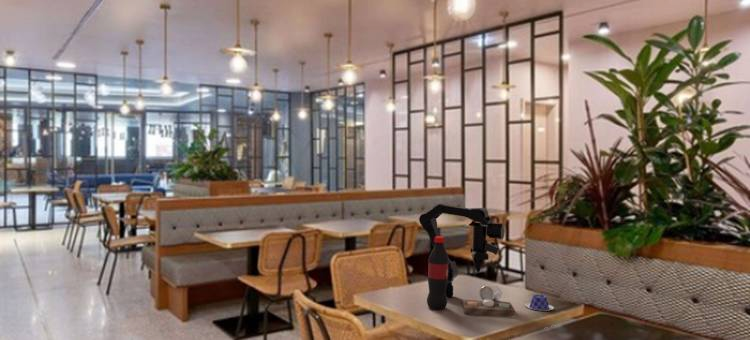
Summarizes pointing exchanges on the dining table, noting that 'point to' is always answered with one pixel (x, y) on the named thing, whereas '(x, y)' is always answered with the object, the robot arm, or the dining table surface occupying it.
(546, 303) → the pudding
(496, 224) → the robot arm
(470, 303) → the brown rounded piece
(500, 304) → the green button
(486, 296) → the beer glass
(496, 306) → the button panel
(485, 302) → the cream button
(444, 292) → the cola bottle
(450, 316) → the dining table surface
